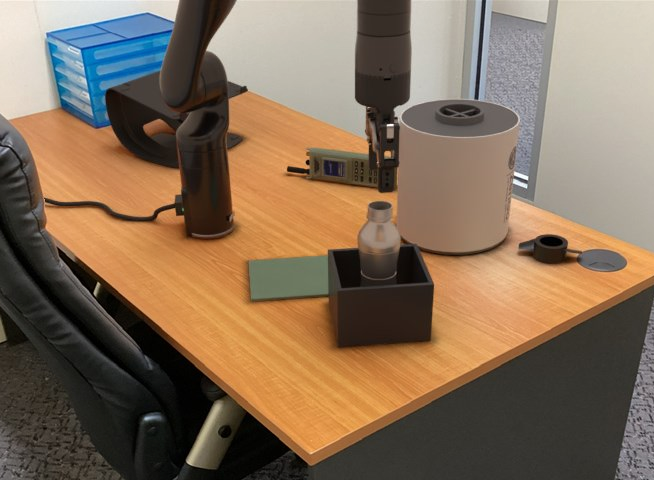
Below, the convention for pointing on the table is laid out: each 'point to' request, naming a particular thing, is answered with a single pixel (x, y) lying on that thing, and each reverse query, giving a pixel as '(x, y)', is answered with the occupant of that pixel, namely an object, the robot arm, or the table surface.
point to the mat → (288, 278)
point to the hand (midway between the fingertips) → (380, 180)
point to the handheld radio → (340, 167)
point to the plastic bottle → (378, 246)
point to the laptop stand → (150, 118)
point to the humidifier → (456, 174)
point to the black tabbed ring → (548, 248)
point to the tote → (380, 300)
